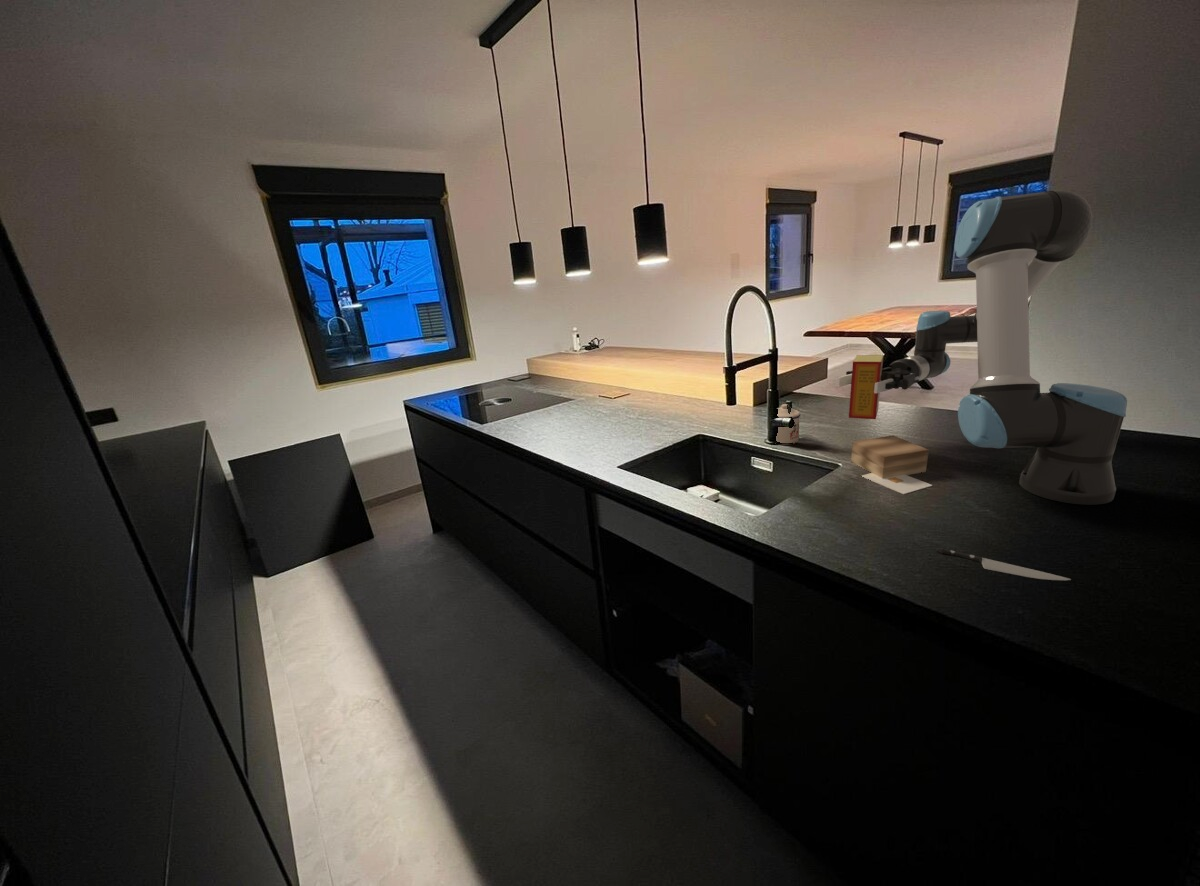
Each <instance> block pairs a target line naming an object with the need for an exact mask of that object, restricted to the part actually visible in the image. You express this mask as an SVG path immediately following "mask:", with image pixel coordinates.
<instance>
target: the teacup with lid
mask: <svg viewBox="0 0 1200 886" xmlns="http://www.w3.org/2000/svg"><path fill="white" fill-rule="evenodd" d="M787 405H788V404H786V403H784V404H781V405H780V407H777V409H778V414H777V416H778V417H779V418H789V417H792V418H793V420H794V422H795V424H794V426H793V427H792V428H789V427H778V433H777V436H776V441H777V442H780V443H792V442H796V441H797V442H799V438H800V436H799V435H800V417H801V412H800V411H799V410H796V409H793V408H791V407H790V408H791V412H790V414H789V413H788V409H787ZM797 442H796V443H797Z"/></svg>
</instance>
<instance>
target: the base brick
mask: <svg viewBox="0 0 1200 886" xmlns="http://www.w3.org/2000/svg"><path fill="white" fill-rule="evenodd" d="M929 451H930V450H929V449H927V448H925V447H923V446H920V445H918V444H915V443H913V442H911V441H908V440H905V439H903V438H901V437H898V436H896V435H894V434H893V435H888V436H887V435H886V436H881V437H880V436H879V437H873V438H868V439H862V440H855V441H852V445H851V459H850V463H851V462H853V463H854V465H855V464H856V465H855V466H857V465H858V466H857V467H859V466H860V467H859V468H861V467H862V468H861V469H862V470H864V469H865V470H864V471H866V470H867V471H866V472H868V471H869V472H868V473H870V472H871V473H873V474H875V475H877V476H879V477H881V478H888V477H894V476H900V475H907V476H911V475H915V474H920V473H921V472H922V473H926V472H927V466H928V458H929V453H930V452H929ZM853 463H852V464H853ZM922 473H921V474H922Z"/></svg>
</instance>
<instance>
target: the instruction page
mask: <svg viewBox="0 0 1200 886" xmlns="http://www.w3.org/2000/svg"><path fill="white" fill-rule="evenodd" d="M861 476H862V478H863V477H864V478H863V479H866V480H868V479H869V480H868V481H870V480H871V482H873V483H876V484H878V485H880V486H882V487H885V488H887V489H890V490H892V491H894V492H897V493H900V494H901V495H906V494H910V493H913V492H916V491H920V490H923V489H926V488H930V487H933V484H930V483H928V482H926V481H922V480H920V479H917V478H915V477H912V476H911V475H900V476H894V477H888V478H881V477H879V476H877V475H875V474H873V473H870V472H869V473H866V474H863V475H861Z"/></svg>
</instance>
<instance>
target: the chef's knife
mask: <svg viewBox="0 0 1200 886" xmlns="http://www.w3.org/2000/svg"><path fill="white" fill-rule="evenodd" d="M935 550H936V552H937V553H940V554H942V555H950V556H955V557H959V558H964V559H967V560H970V561H975V562H979V563H981V565H982V567H983V569H985V570H991V571H994V572H995V571H996V572H1000V573H1004V574H1005V573H1006V574H1011V575H1015V576H1021V577H1025V578H1031V579H1032V578H1033V579H1039V580H1049V581H1050V580H1051V581H1071V580H1072V579H1071V578H1069V577H1065V576H1061V575H1056V574H1053V573H1050V572H1049V573H1048V572H1044V571H1041V570H1036V569H1033V568H1032V569H1031V568H1028V567H1023V566H1020V565H1015V564H1010V563H1008V562H1003V561H998V560H993V559H990V558H986V557H982V556H979V555H973V554H968V553H965V552H960V551H955V550H951V549H949V548H948V549H947V548H944V547H936V549H935Z"/></svg>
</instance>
